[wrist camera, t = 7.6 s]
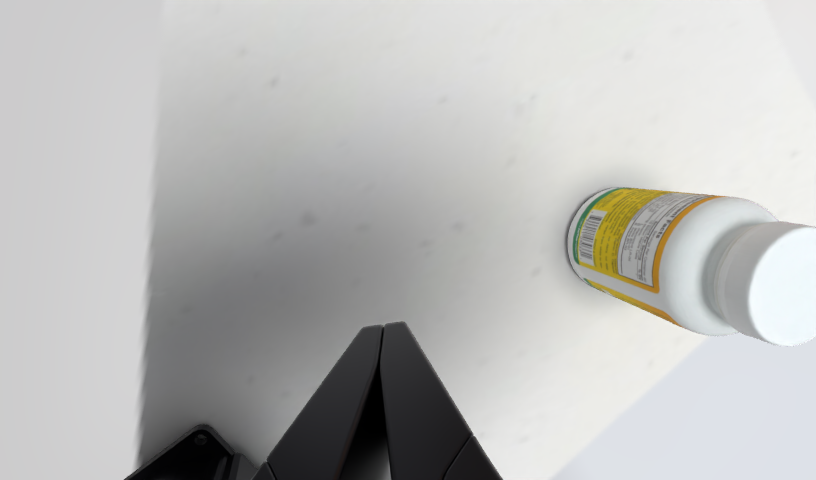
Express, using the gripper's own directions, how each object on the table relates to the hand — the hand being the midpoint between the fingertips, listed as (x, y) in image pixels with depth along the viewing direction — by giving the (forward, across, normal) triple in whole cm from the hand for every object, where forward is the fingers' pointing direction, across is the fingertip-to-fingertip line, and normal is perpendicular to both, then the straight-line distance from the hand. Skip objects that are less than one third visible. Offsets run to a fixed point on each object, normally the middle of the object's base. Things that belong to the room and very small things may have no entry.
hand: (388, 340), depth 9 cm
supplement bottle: (+14, -10, +7) cm, 19 cm away
